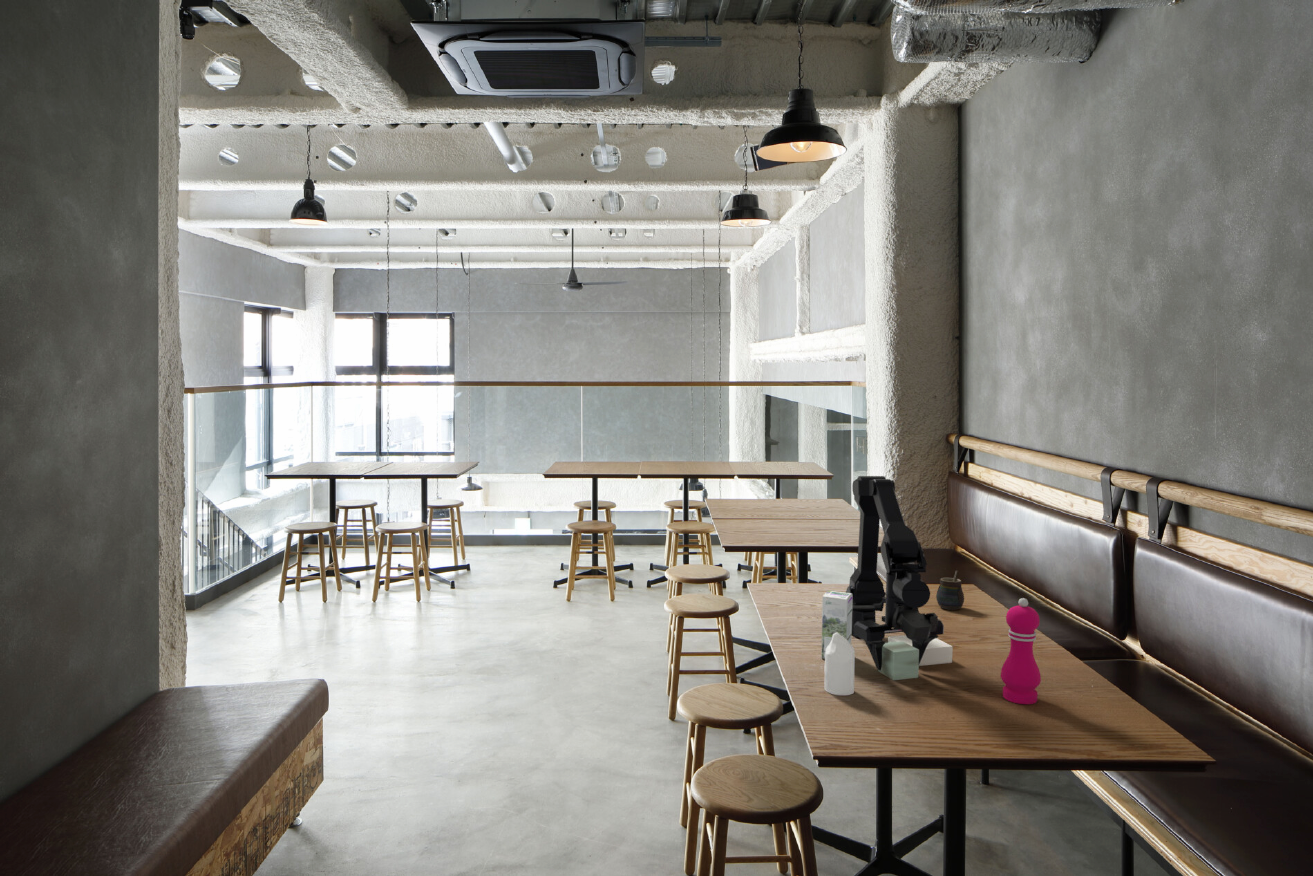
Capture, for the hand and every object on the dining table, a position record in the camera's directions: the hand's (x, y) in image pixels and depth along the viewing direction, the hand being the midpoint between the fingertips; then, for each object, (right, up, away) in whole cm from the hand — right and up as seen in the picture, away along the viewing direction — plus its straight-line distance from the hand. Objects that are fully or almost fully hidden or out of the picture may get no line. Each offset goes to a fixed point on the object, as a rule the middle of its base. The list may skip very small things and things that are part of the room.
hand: (897, 667), depth 177 cm
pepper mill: (+20, -3, -13) cm, 24 cm away
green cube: (0, -2, 0) cm, 2 cm away
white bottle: (-15, -2, -10) cm, 18 cm away
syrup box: (-11, -1, +11) cm, 15 cm away
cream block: (+8, -1, +11) cm, 14 cm away
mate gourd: (+30, +2, +52) cm, 60 cm away
